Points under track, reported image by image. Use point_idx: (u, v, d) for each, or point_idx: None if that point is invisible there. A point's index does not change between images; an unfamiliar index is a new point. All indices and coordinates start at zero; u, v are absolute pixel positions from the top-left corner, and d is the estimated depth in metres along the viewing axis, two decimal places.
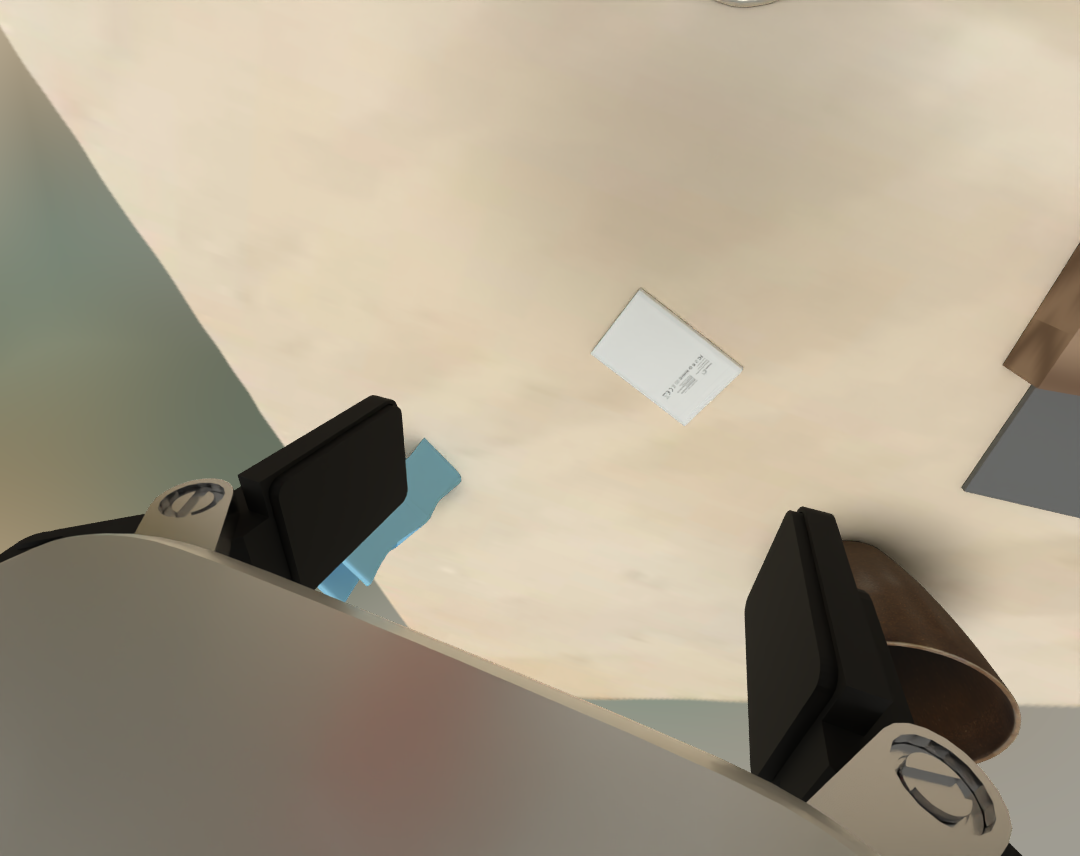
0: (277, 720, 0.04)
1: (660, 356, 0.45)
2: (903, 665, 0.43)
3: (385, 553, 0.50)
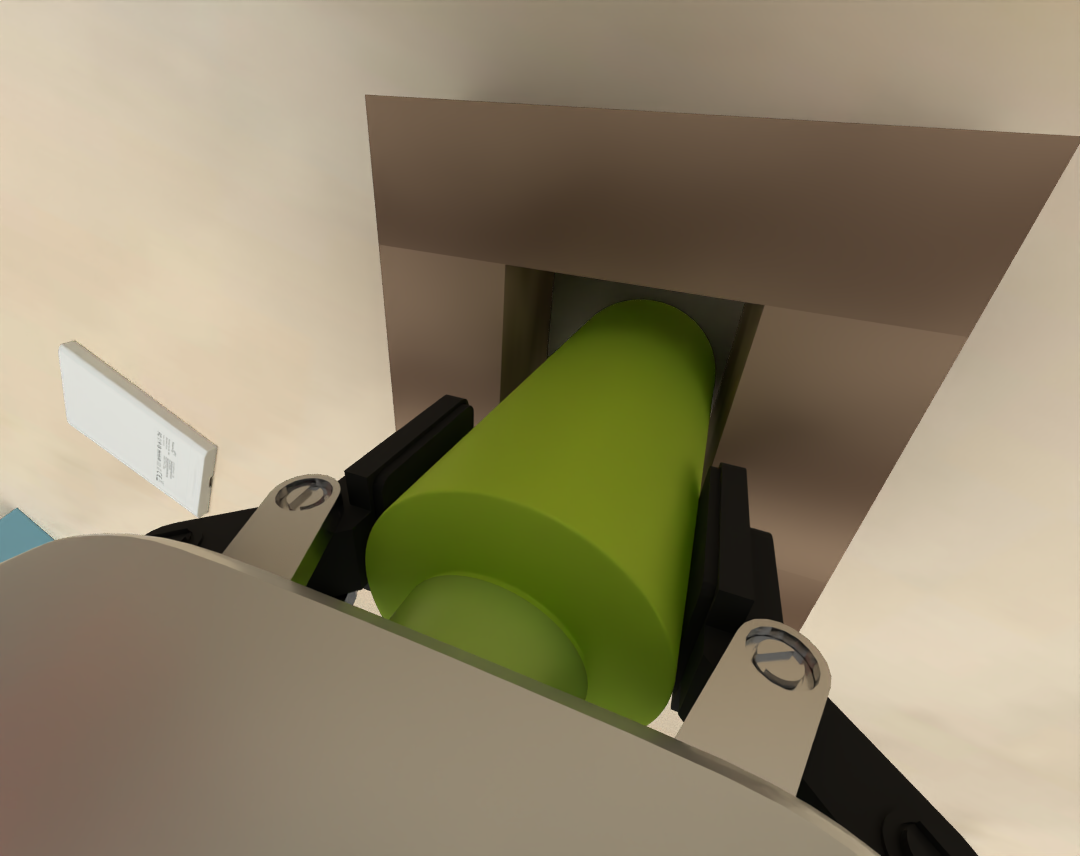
0: (277, 720, 0.04)
1: (125, 431, 0.33)
2: None
3: None
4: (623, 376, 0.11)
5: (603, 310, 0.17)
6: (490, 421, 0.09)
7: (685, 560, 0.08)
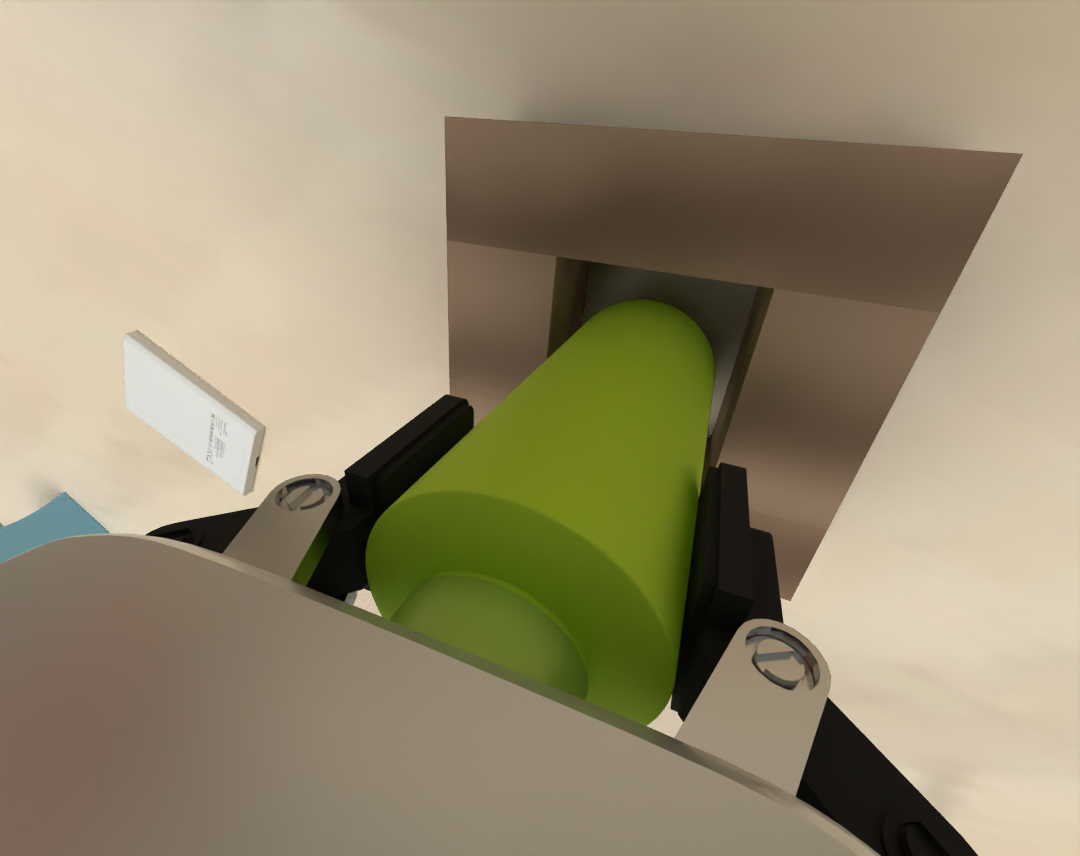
0: (277, 720, 0.04)
1: (181, 414, 0.36)
2: None
3: None
4: (622, 376, 0.11)
5: (603, 310, 0.18)
6: (490, 421, 0.09)
7: (685, 560, 0.08)
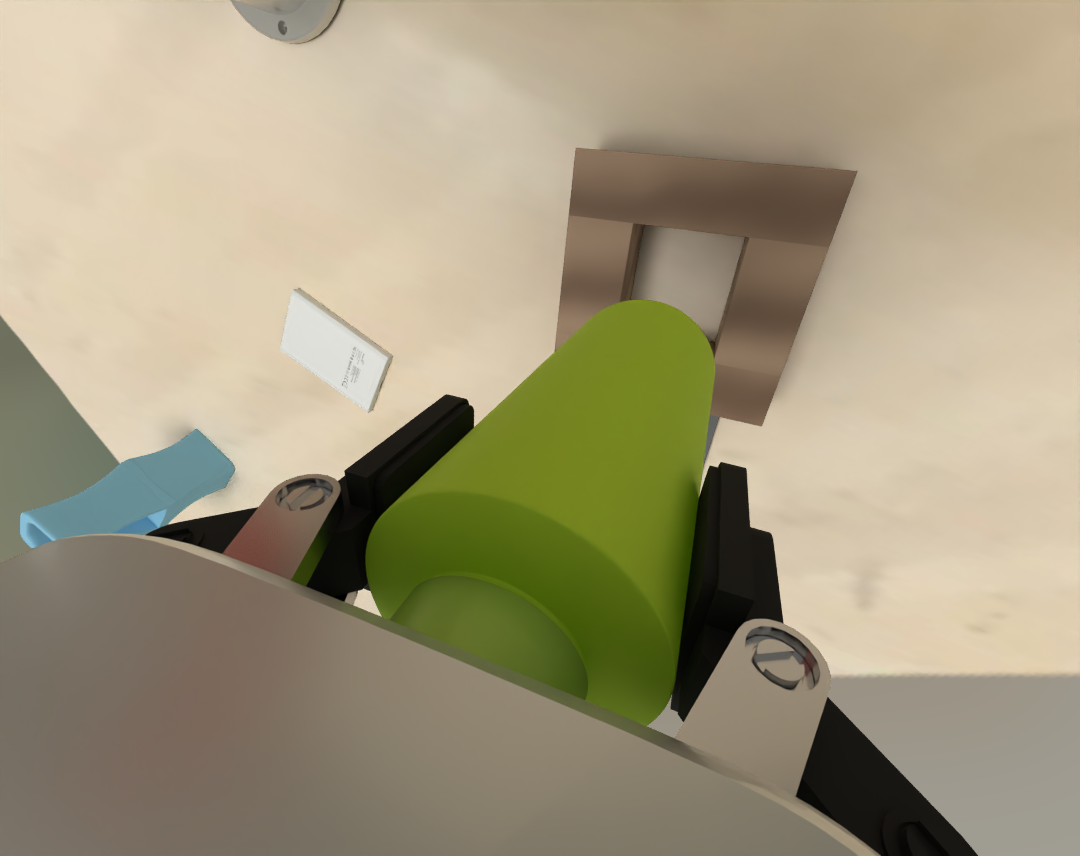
0: (277, 720, 0.04)
1: (327, 349, 0.49)
2: None
3: (109, 532, 0.54)
4: (622, 376, 0.11)
5: (603, 310, 0.18)
6: (490, 421, 0.09)
7: (685, 560, 0.08)
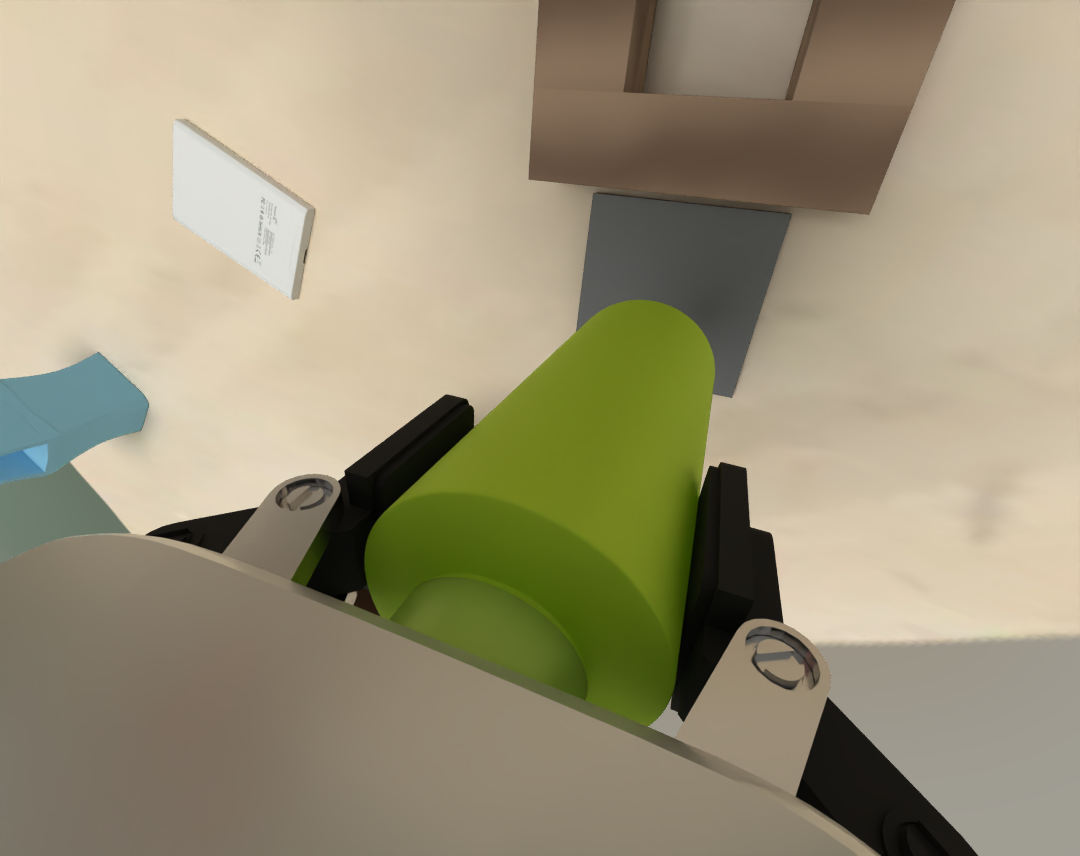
0: (277, 720, 0.04)
1: (230, 207, 0.36)
2: None
3: None
4: (622, 377, 0.11)
5: (602, 310, 0.17)
6: (489, 422, 0.09)
7: (685, 561, 0.08)
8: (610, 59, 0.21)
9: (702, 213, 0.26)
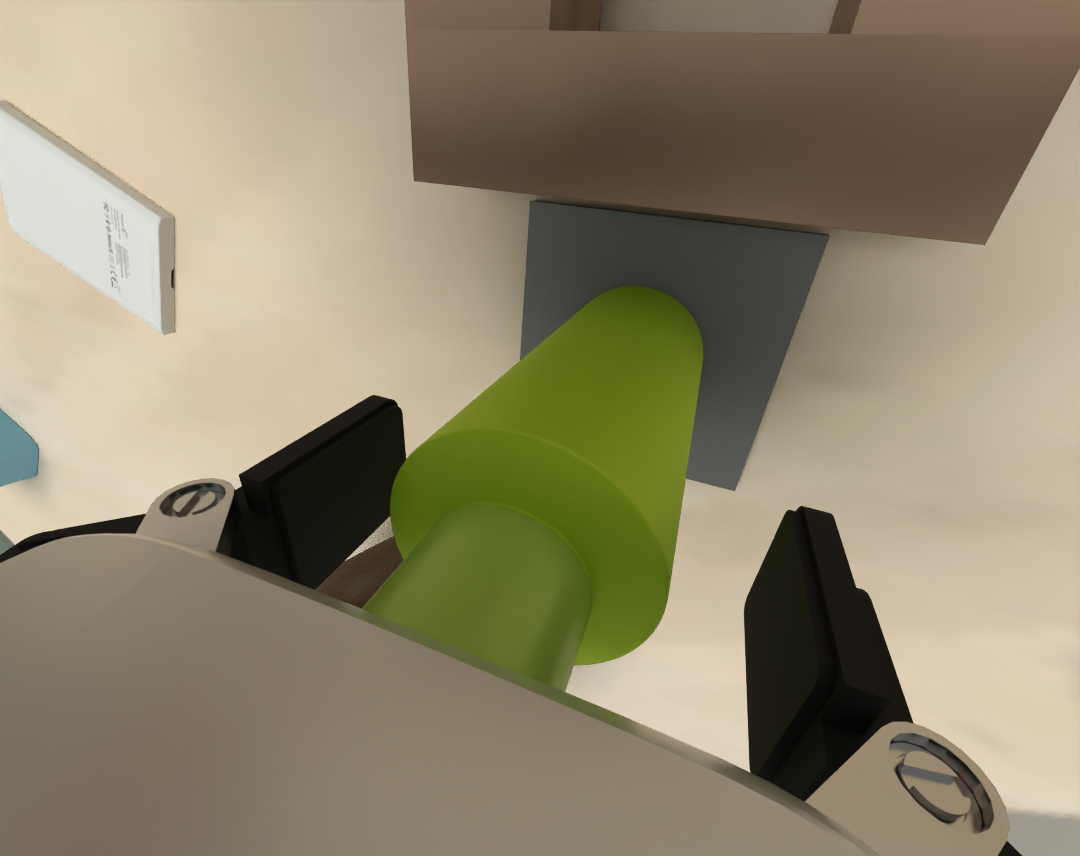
0: (277, 720, 0.04)
1: (70, 216, 0.28)
2: None
3: None
4: (618, 346, 0.12)
5: (598, 296, 0.19)
6: (500, 382, 0.10)
7: (676, 498, 0.09)
8: None
9: (690, 232, 0.17)
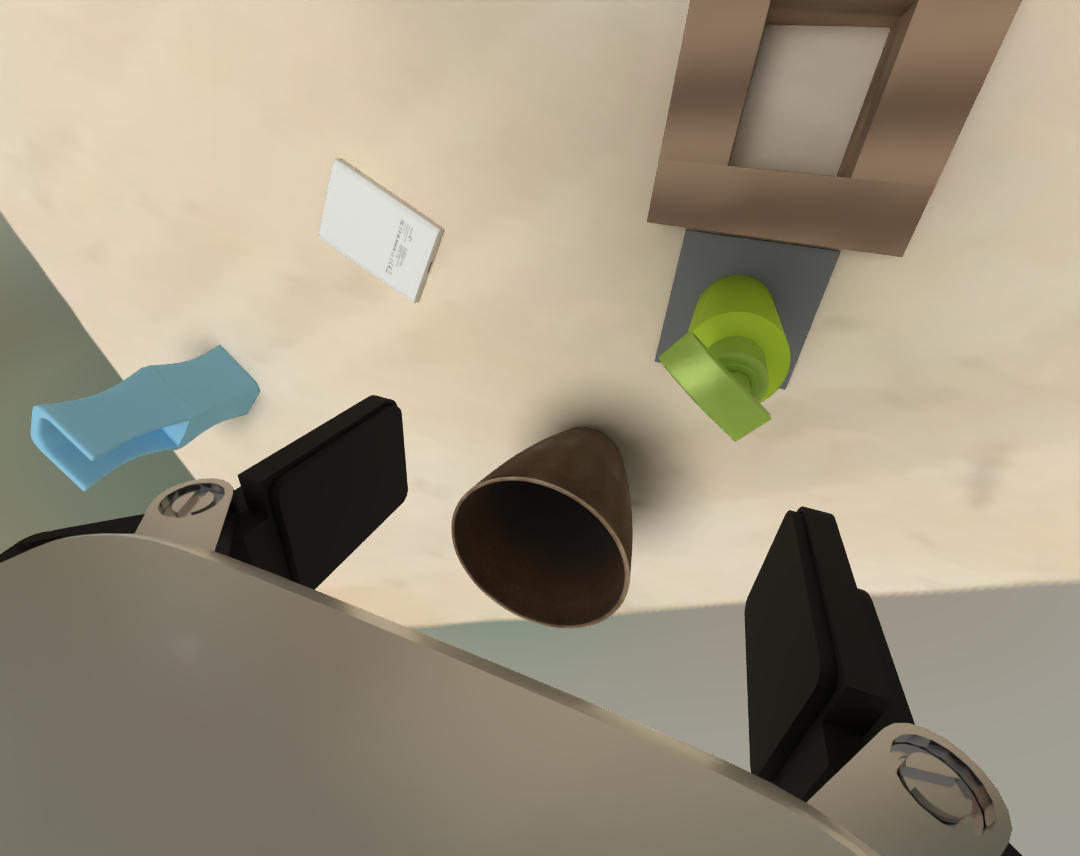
0: (277, 720, 0.04)
1: (371, 228, 0.45)
2: (606, 542, 0.43)
3: (128, 436, 0.50)
4: (754, 295, 0.29)
5: (719, 280, 0.36)
6: (716, 305, 0.28)
7: None
8: (719, 143, 0.29)
9: (771, 248, 0.34)
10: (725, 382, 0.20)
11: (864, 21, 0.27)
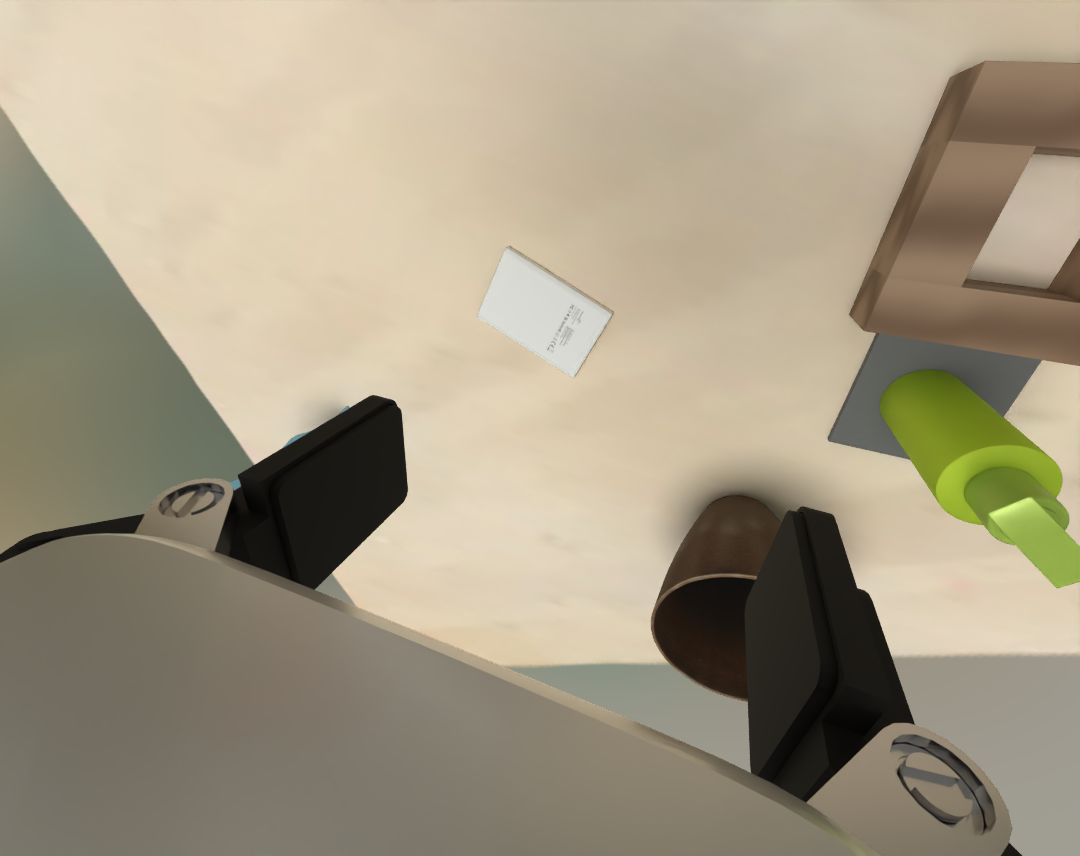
0: (277, 720, 0.04)
1: (537, 310, 0.47)
2: None
3: None
4: (990, 410, 0.31)
5: (913, 374, 0.38)
6: (967, 427, 0.29)
7: None
8: (956, 267, 0.31)
9: None
10: (1065, 542, 0.22)
11: None
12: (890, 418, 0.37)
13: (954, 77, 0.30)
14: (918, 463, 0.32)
